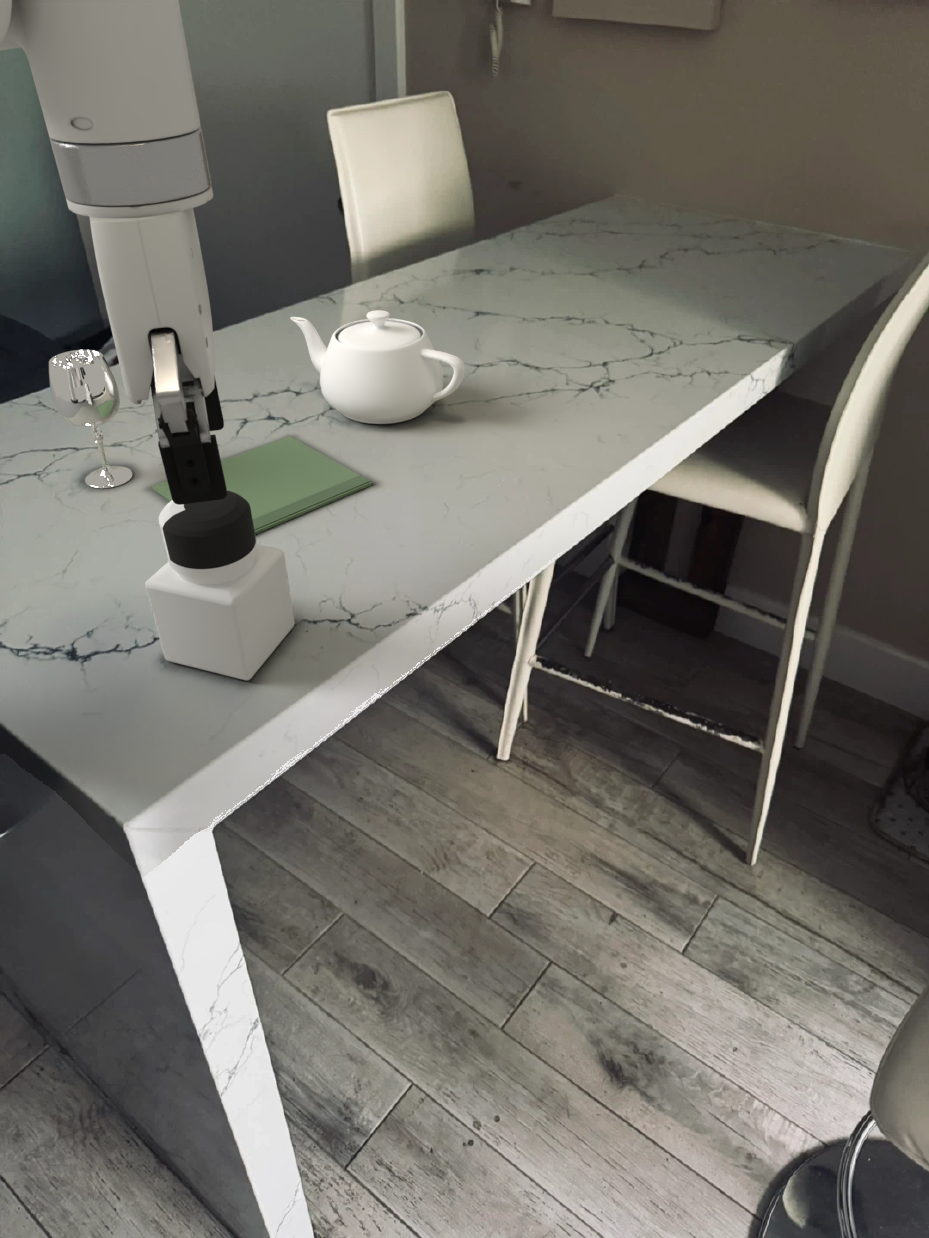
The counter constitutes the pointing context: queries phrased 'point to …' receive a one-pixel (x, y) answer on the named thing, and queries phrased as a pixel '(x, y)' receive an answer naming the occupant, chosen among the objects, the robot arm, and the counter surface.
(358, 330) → the teapot
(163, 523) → the medicine bottle
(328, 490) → the napkin
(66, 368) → the wineglass
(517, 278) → the counter surface
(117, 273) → the robot arm
